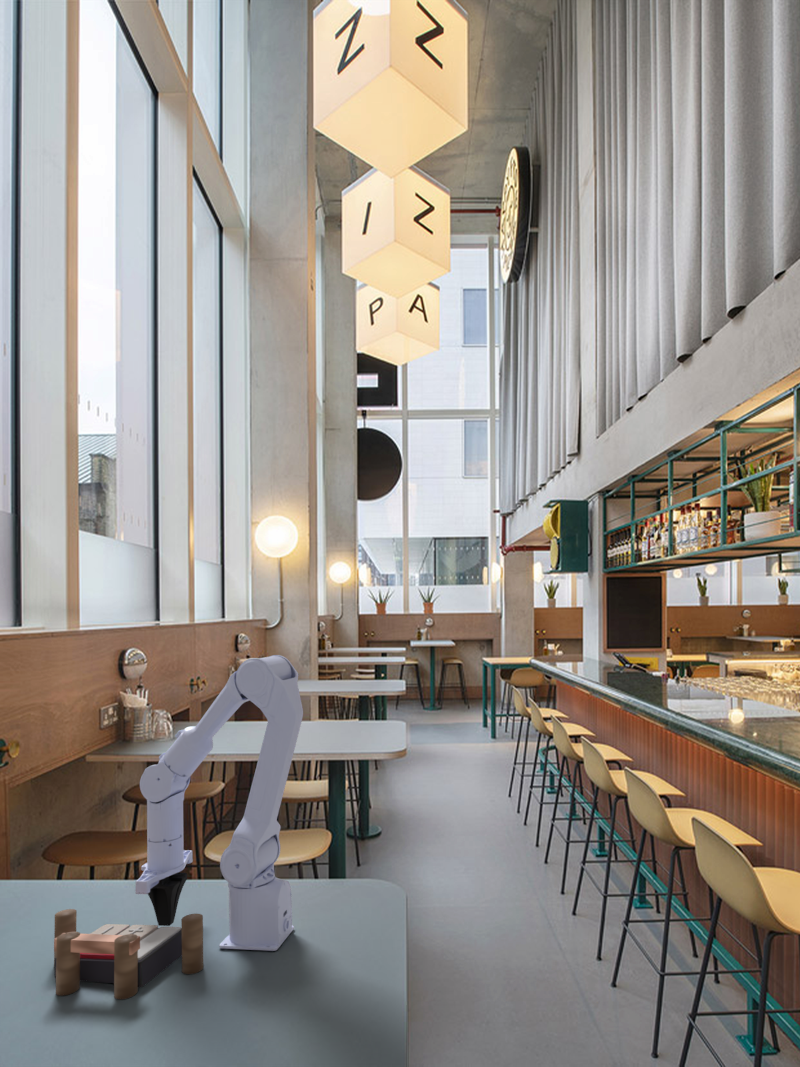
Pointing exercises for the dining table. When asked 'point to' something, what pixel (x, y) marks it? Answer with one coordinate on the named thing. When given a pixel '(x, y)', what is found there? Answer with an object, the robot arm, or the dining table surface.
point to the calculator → (152, 956)
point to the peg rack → (115, 953)
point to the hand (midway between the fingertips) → (166, 923)
